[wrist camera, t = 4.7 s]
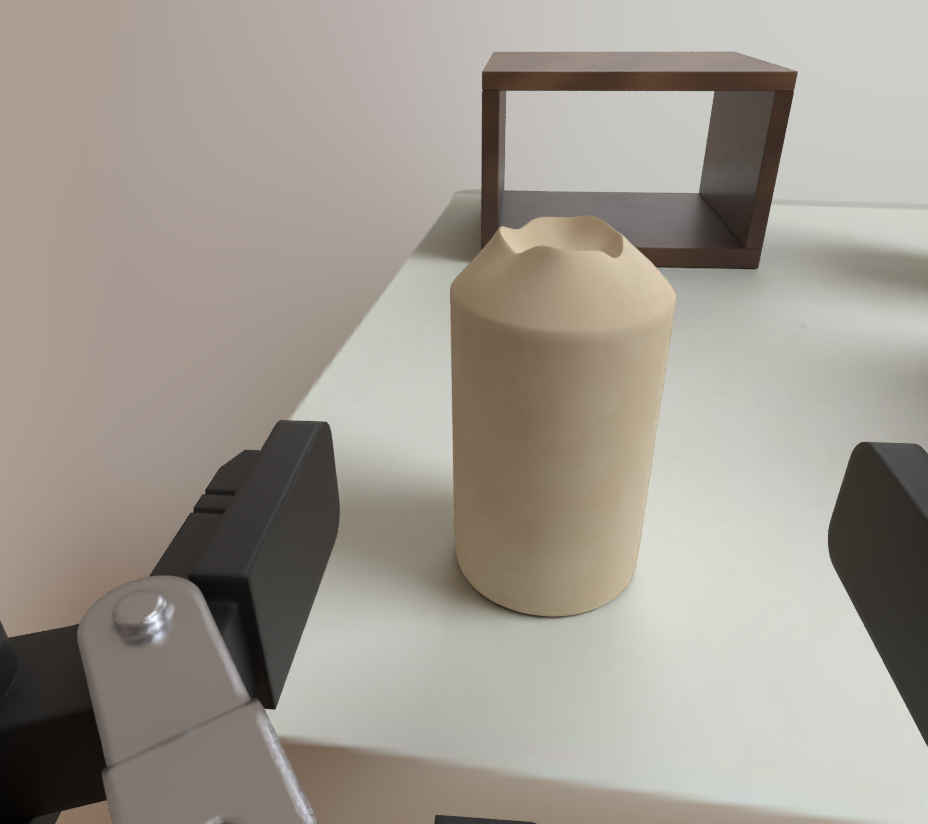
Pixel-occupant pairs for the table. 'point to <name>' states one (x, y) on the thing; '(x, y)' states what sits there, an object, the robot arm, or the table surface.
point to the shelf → (655, 214)
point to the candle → (555, 412)
